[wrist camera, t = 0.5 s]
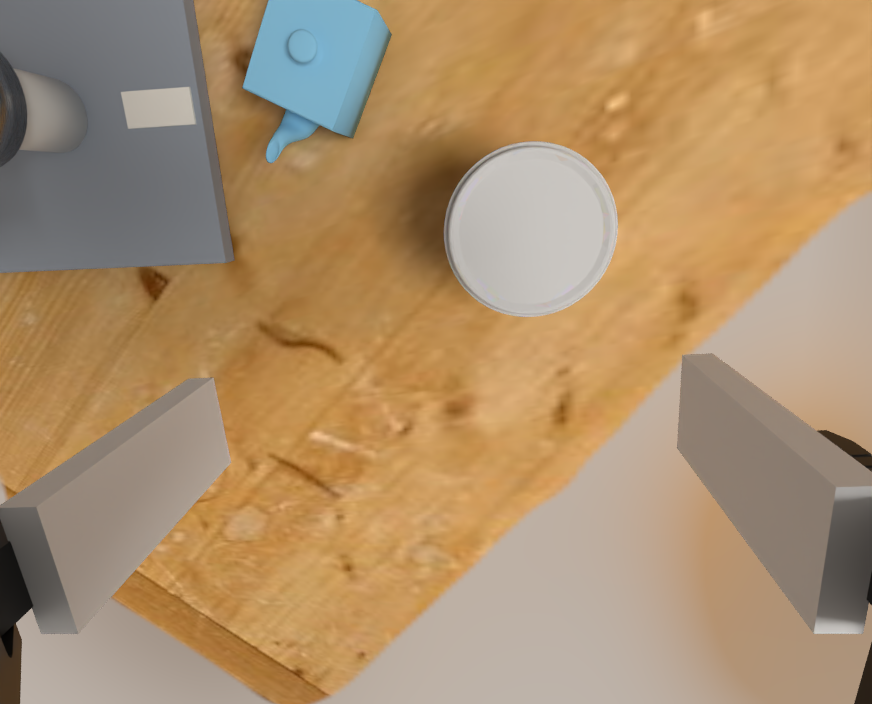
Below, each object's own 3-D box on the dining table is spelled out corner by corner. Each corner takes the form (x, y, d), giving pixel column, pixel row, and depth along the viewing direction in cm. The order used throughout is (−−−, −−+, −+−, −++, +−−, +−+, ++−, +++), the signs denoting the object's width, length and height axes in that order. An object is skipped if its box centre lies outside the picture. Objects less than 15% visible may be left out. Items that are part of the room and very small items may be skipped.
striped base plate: (-116, -40, 39) (-274, -100, 30) (182, -71, 37) (97, -143, 28) (-24, 271, 45) (-135, 290, 37) (234, 260, 43) (177, 277, 35)
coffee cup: (448, 277, 42) (436, 312, 31) (459, 148, 39) (450, 133, 28) (571, 288, 42) (605, 327, 30) (590, 158, 39) (636, 146, 27)
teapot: (339, 183, 41) (309, 183, 34) (263, 148, 40) (217, 140, 33) (402, 15, 37) (384, -26, 30) (320, -25, 37) (281, -76, 30)
